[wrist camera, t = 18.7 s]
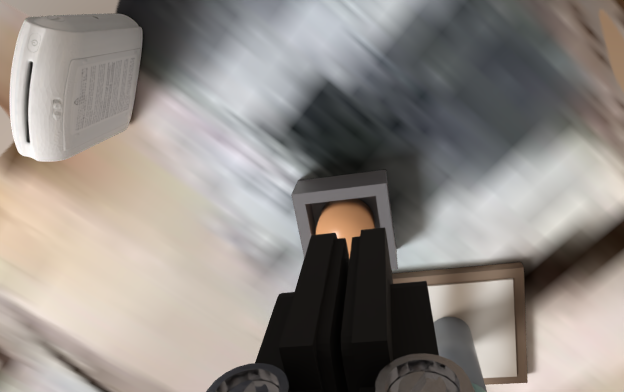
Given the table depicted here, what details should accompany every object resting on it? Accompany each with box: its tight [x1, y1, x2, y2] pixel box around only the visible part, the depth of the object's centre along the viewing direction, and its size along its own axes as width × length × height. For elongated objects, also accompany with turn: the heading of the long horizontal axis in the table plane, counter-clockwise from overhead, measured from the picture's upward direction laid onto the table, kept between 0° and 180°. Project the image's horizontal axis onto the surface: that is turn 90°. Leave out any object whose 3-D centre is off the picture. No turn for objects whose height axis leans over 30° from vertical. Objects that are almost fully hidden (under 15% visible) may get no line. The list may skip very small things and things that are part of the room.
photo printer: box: [10, 14, 143, 161], centre depth 38 cm, size 10×4×12 cm, turn 163°
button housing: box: [292, 170, 398, 269], centre depth 44 cm, size 8×8×4 cm
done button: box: [316, 198, 375, 259], centre depth 43 cm, size 5×5×2 cm
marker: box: [434, 317, 487, 392], centre depth 42 cm, size 4×4×11 cm
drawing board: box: [392, 262, 527, 385], centre depth 48 cm, size 14×13×1 cm
